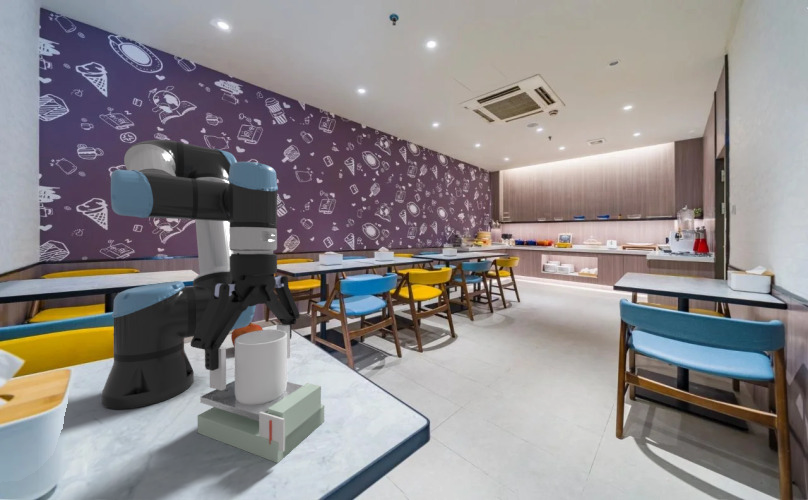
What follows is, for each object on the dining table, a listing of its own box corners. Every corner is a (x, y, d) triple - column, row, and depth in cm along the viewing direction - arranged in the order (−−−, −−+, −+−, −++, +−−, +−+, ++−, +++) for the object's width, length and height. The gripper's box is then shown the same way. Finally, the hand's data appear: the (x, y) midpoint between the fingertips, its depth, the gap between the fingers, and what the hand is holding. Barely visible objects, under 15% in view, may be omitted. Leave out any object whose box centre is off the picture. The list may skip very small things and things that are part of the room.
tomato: (241, 356, 84) (241, 328, 84) (224, 350, 89) (224, 324, 89) (271, 346, 92) (271, 321, 92) (254, 341, 97) (254, 317, 96)
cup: (249, 412, 46) (249, 348, 46) (217, 389, 53) (217, 333, 53) (296, 390, 53) (296, 335, 52) (262, 373, 60) (262, 323, 60)
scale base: (197, 432, 50) (197, 392, 50) (252, 400, 60) (252, 367, 60) (282, 464, 43) (282, 417, 43) (328, 422, 53) (328, 384, 53)
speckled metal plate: (200, 413, 50) (200, 396, 50) (250, 387, 60) (250, 373, 60) (260, 434, 45) (260, 415, 45) (304, 402, 54) (304, 386, 54)
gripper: (194, 255, 39) (196, 412, 39) (317, 251, 62) (316, 350, 62) (160, 254, 42) (162, 400, 42) (289, 250, 65) (289, 345, 65)
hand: (254, 370), depth 52 cm, fingers open, 13 cm apart
